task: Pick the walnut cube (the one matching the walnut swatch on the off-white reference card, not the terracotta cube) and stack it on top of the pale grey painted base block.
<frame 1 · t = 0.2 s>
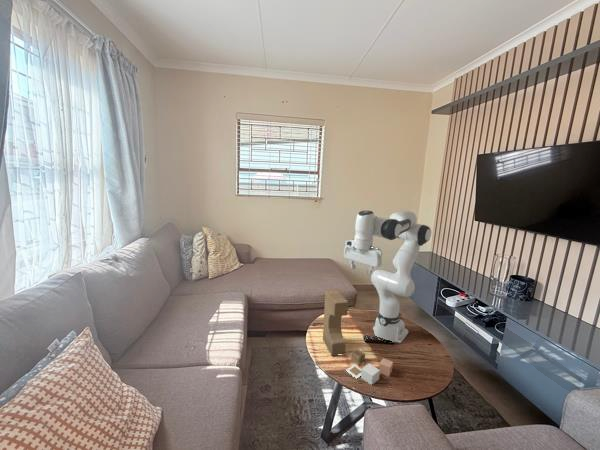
hand: (361, 271, 136), 47 cm above the table, fingers open, 8 cm apart
walnut cube: (357, 361, 140), on the table
decorative block: (333, 347, 151), on the table
terracotta cube: (385, 371, 133), on the table
base block: (369, 378, 128), on the table
reference card: (355, 371, 132), on the table
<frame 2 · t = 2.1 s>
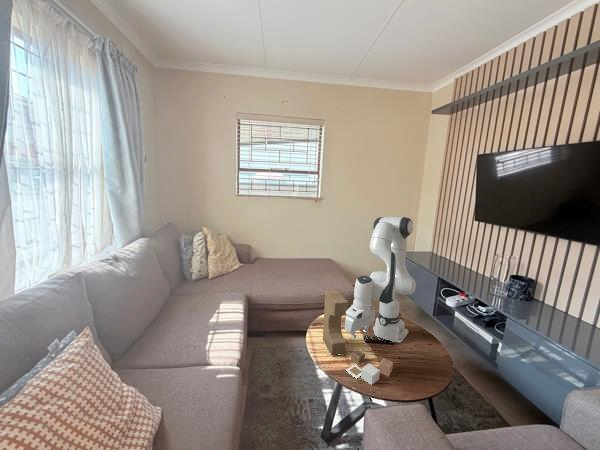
hand: (359, 334, 137), 15 cm above the table, fingers open, 8 cm apart
nothing on the table moved.
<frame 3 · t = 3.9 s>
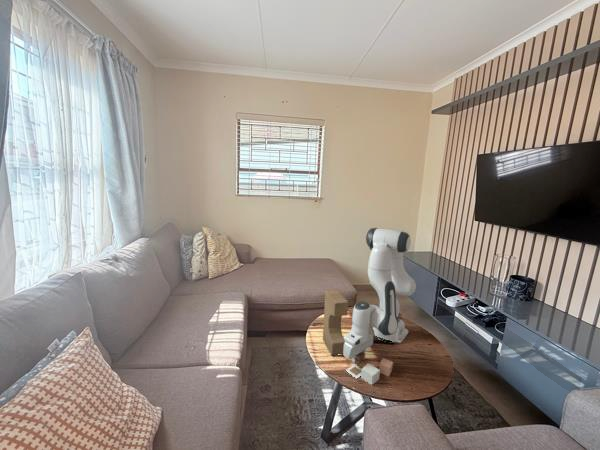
hand: (357, 358, 139), 2 cm above the table, fingers closed on walnut cube, 5 cm apart
walnut cube: (357, 361, 140), on the table, touching gripper
everything else where it was.
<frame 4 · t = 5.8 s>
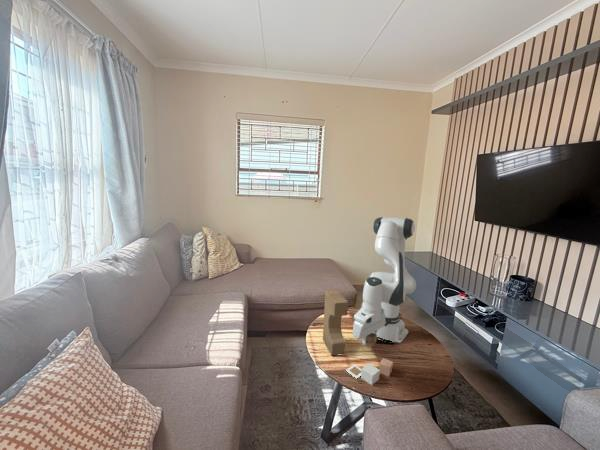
hand: (368, 340, 127), 18 cm above the table, fingers closed on walnut cube, 5 cm apart
walnut cube: (368, 343, 128), point 16 cm above the table, touching gripper
everything else where it was.
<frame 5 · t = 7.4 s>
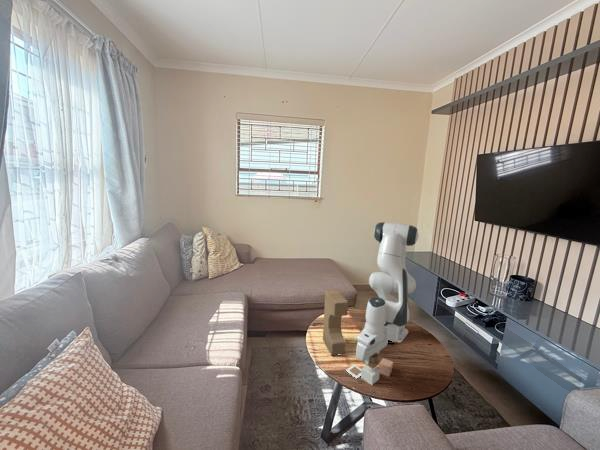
hand: (371, 360, 126), 10 cm above the table, fingers closed on walnut cube, 5 cm apart
walnut cube: (371, 363, 127), point 8 cm above the table, touching gripper
everything else where it was.
when the fingers open (8 cm above the table, at t = 8.2 s): walnut cube drops 1 cm, resting on base block.
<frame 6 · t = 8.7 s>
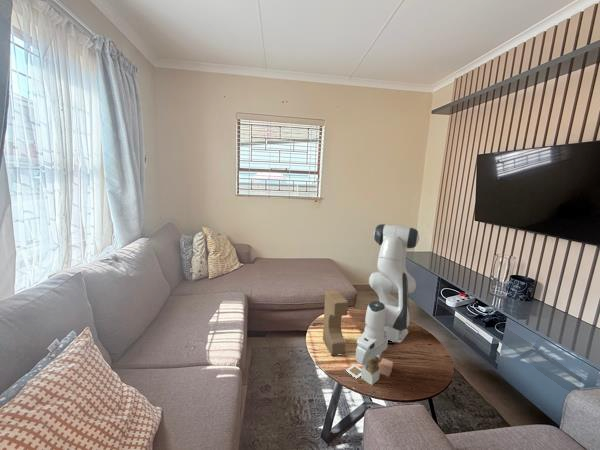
hand: (371, 364, 127), 8 cm above the table, fingers open, 8 cm apart
walnut cube: (370, 369, 128), point 5 cm above the table, touching base block
base block: (369, 378, 128), on the table, touching walnut cube
everything else where it was.
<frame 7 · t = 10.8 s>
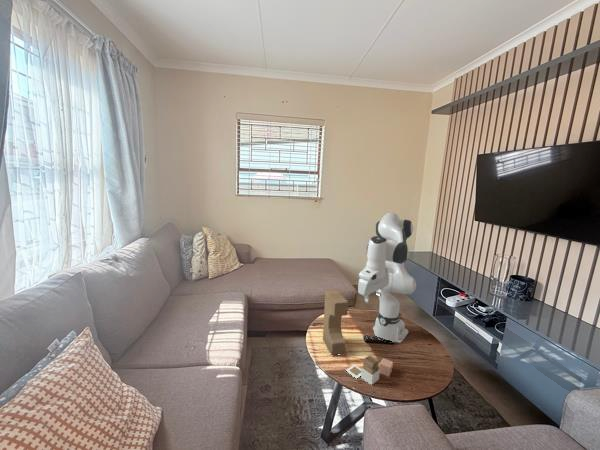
hand: (373, 298, 130), 36 cm above the table, fingers open, 8 cm apart
nothing on the table moved.
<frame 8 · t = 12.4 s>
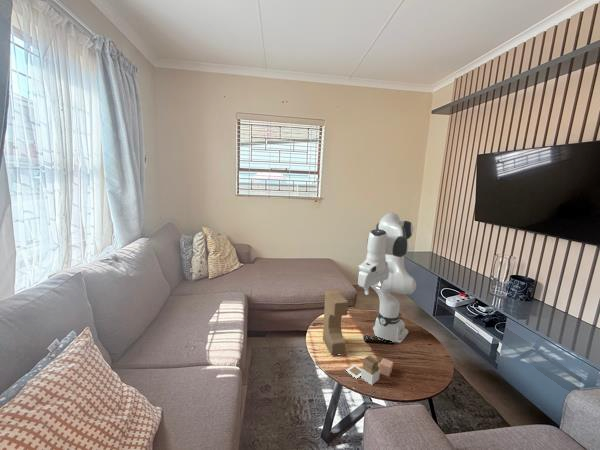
hand: (372, 291, 131), 39 cm above the table, fingers open, 8 cm apart
nothing on the table moved.
at the end: walnut cube 0.3 cm off-centre on the base block, point 5.0 cm above the base block's base; walnut cube tilted 0°; the gripper is holding nothing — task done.
